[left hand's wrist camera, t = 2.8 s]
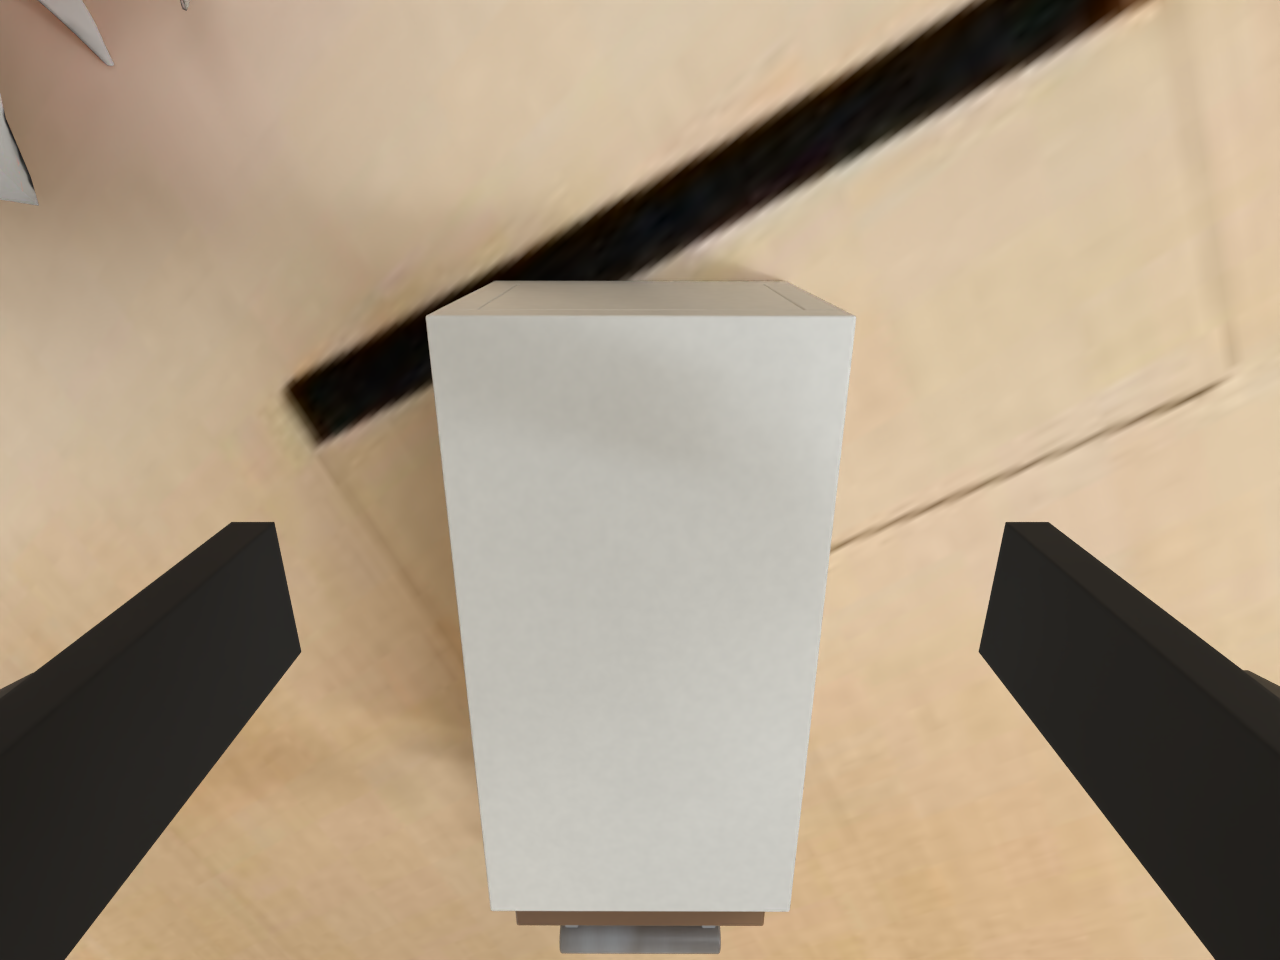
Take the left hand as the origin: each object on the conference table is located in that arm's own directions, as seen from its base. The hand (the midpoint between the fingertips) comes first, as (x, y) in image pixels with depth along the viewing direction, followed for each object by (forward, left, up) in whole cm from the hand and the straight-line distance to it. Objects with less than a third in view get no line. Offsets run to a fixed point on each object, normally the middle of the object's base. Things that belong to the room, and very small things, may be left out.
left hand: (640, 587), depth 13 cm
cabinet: (+6, +1, -14) cm, 15 cm away
